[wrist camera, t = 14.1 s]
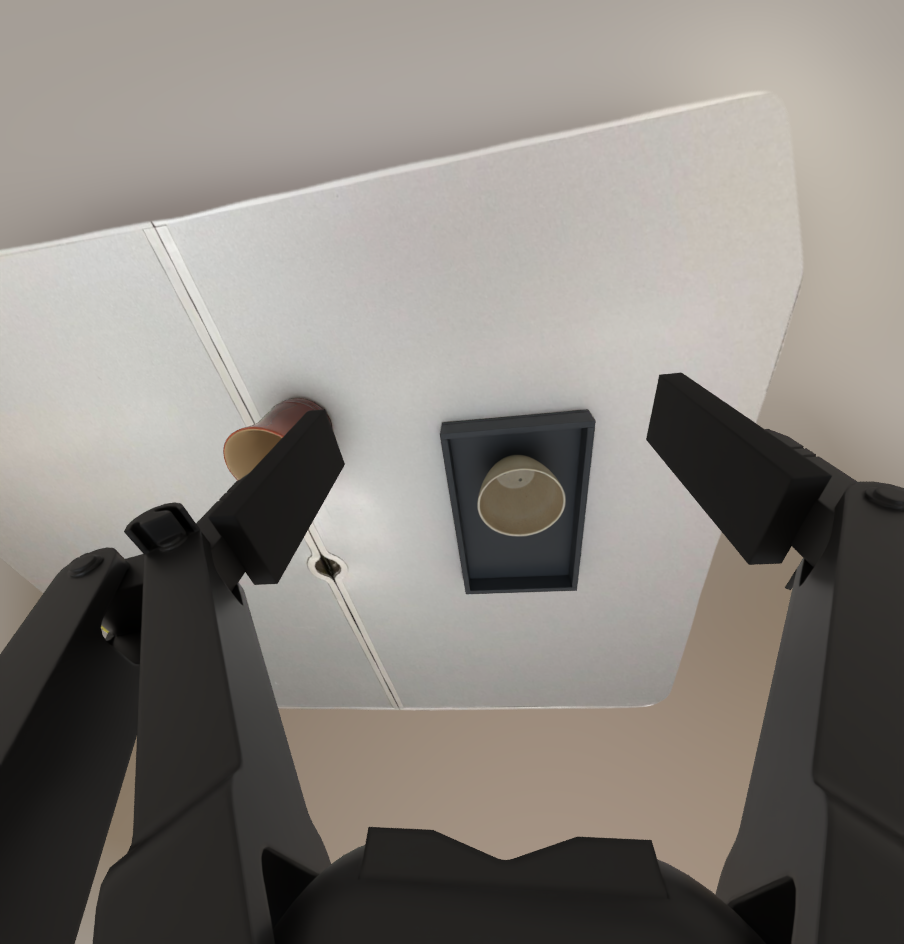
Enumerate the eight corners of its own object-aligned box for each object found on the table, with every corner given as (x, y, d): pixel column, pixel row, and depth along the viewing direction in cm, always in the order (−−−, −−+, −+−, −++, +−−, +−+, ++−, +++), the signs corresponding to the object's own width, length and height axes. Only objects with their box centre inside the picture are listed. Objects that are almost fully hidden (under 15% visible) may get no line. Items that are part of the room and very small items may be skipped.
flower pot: (512, 511, 50) (517, 548, 44) (461, 470, 47) (459, 505, 41) (569, 470, 46) (583, 505, 40) (518, 422, 42) (525, 452, 36)
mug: (257, 399, 43) (204, 440, 35) (319, 380, 41) (279, 417, 33) (307, 476, 49) (273, 527, 41) (363, 462, 48) (339, 512, 39)
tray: (441, 422, 44) (439, 434, 41) (588, 409, 42) (595, 420, 39) (466, 579, 60) (465, 594, 57) (572, 574, 58) (576, 590, 55)
